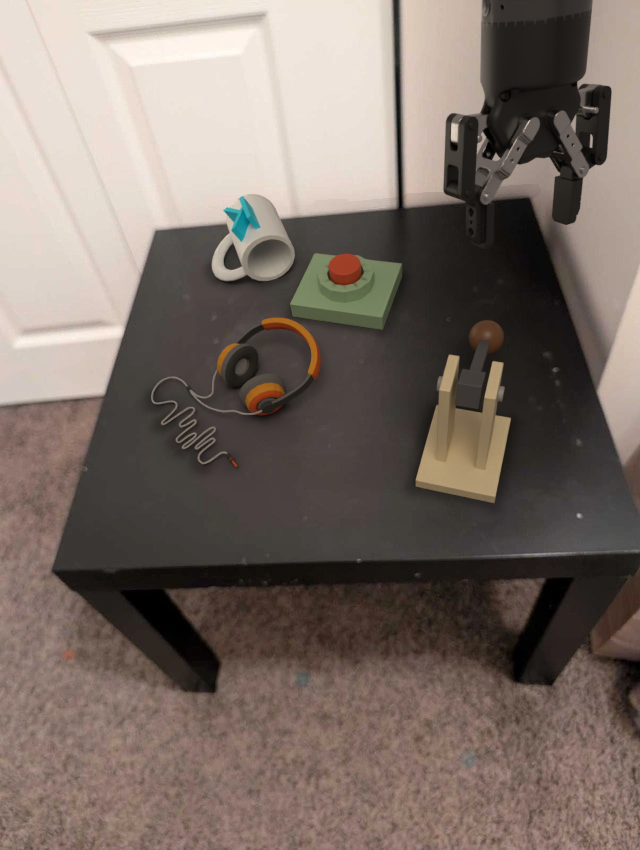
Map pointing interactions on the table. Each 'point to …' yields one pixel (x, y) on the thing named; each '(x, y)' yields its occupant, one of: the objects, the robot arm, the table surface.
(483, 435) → the switch bracket
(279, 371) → the table surface
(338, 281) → the button
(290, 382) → the table surface
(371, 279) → the control block
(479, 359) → the lever
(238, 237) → the mug
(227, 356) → the headphones
